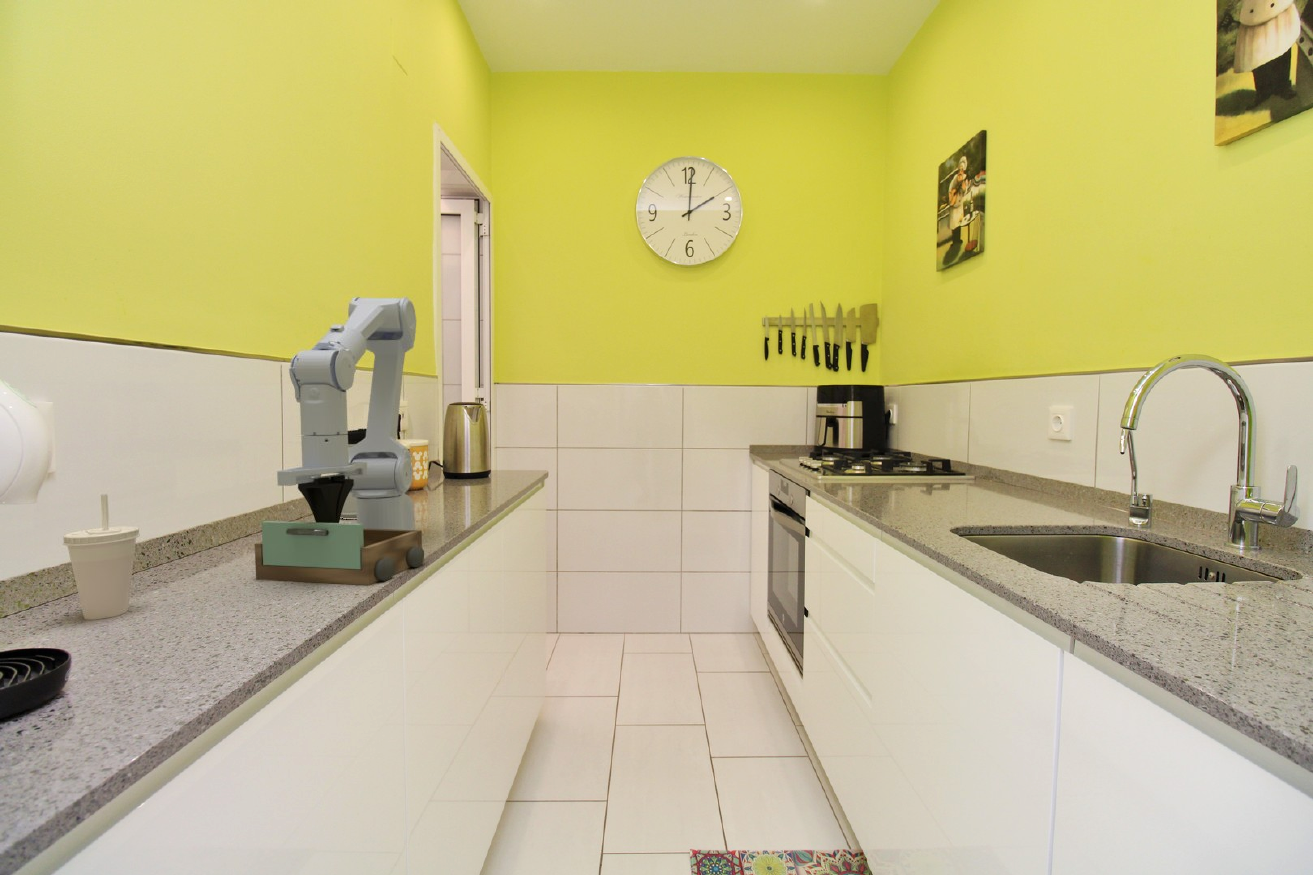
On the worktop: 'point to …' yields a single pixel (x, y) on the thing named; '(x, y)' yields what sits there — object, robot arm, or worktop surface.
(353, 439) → the travel mug
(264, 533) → the tailgate
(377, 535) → the cart
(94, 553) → the smoothie
